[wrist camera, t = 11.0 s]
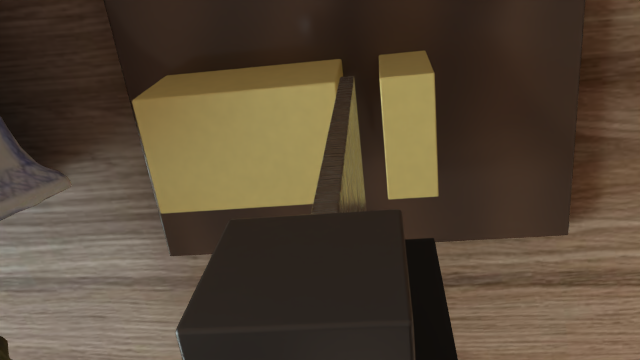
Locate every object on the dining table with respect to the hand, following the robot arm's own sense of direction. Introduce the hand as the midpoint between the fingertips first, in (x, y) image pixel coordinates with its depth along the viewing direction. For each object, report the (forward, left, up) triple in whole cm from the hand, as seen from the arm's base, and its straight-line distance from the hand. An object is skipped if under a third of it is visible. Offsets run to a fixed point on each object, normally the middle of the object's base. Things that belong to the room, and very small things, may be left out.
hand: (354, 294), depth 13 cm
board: (+1, 0, -15) cm, 15 cm away
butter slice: (-2, 0, -14) cm, 14 cm away
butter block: (+5, 0, -14) cm, 14 cm away
